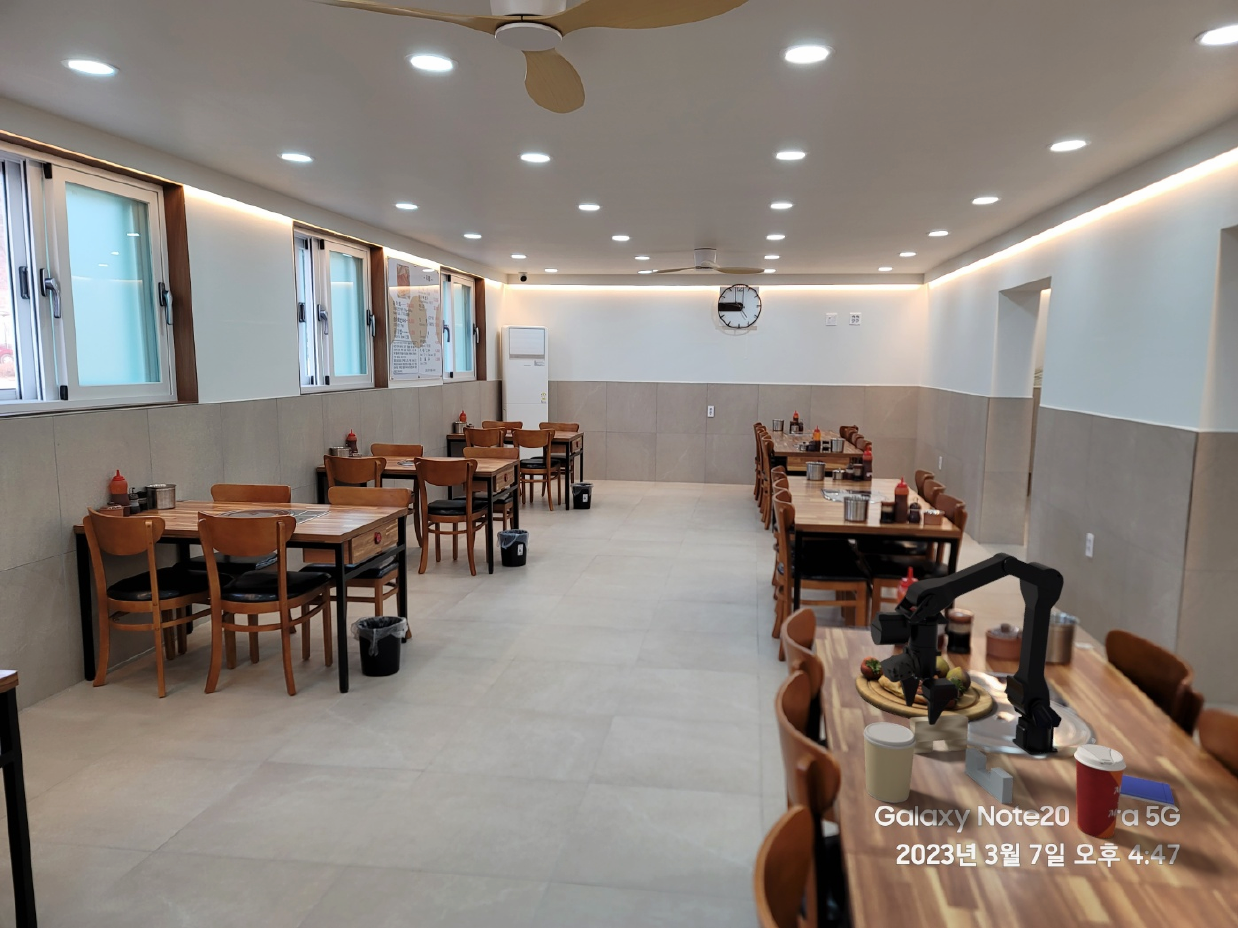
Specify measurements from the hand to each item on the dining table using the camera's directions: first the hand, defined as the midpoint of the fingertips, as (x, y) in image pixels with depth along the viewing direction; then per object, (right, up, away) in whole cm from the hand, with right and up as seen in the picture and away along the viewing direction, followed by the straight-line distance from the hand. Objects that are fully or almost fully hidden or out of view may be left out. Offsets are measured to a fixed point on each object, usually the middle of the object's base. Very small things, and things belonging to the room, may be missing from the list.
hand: (920, 715), depth 167 cm
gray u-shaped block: (+8, -9, -14) cm, 19 cm away
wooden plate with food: (+12, -5, +31) cm, 33 cm away
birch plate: (+4, -8, +1) cm, 9 cm away
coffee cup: (-12, -10, -16) cm, 22 cm away
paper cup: (+20, -11, -29) cm, 36 cm away
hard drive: (+35, -10, -15) cm, 39 cm away
